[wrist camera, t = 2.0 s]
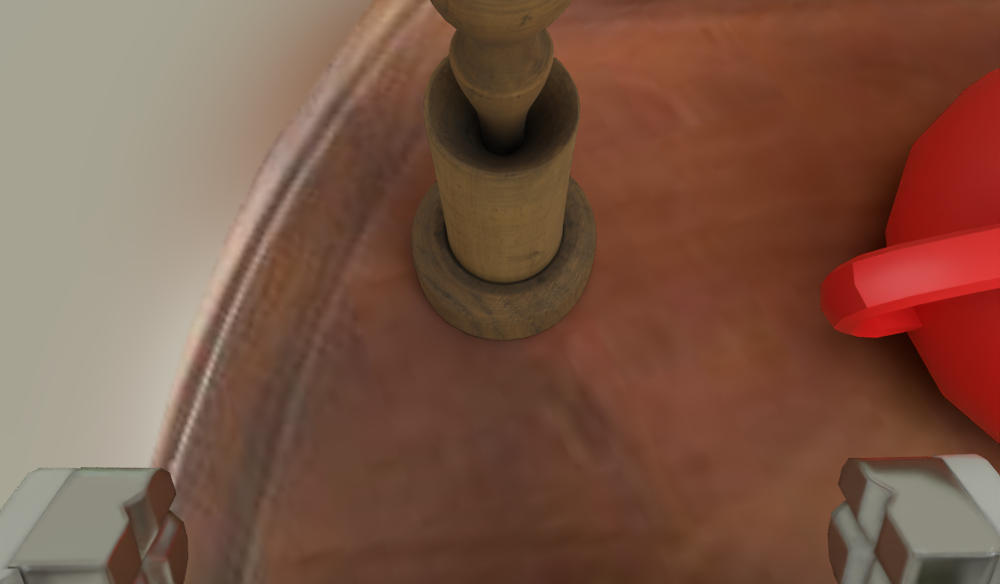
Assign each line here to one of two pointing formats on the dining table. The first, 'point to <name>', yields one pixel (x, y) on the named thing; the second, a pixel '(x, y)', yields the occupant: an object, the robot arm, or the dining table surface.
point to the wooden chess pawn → (502, 175)
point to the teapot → (940, 258)
